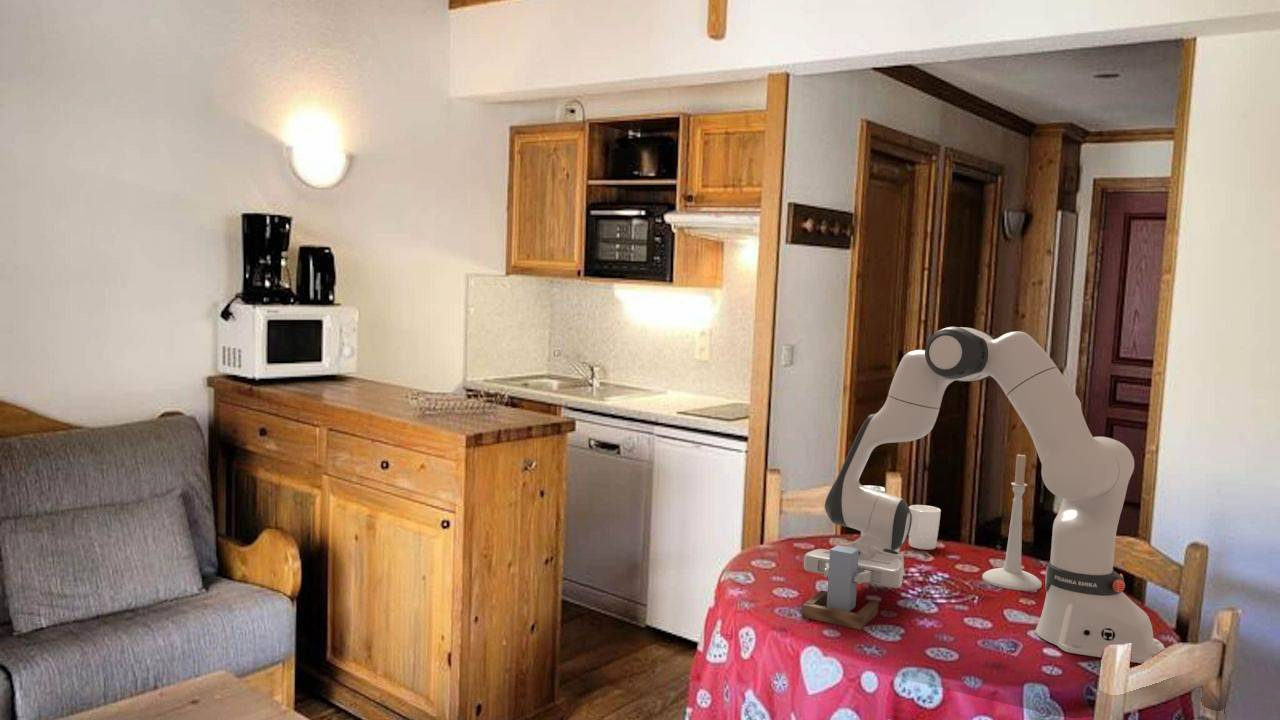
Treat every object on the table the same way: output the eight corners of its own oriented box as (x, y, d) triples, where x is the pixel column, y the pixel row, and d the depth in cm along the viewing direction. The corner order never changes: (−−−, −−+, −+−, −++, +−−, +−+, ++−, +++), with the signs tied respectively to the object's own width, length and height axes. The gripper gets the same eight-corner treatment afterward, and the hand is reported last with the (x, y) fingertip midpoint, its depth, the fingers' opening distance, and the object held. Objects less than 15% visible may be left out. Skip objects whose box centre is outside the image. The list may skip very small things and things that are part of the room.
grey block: (855, 606, 199) (859, 548, 198) (848, 612, 195) (851, 553, 194) (833, 602, 201) (837, 544, 200) (826, 608, 198) (830, 549, 197)
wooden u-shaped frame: (877, 613, 200) (878, 601, 200) (860, 629, 190) (861, 617, 190) (821, 601, 206) (821, 590, 206) (802, 616, 196) (802, 604, 196)
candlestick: (980, 570, 234) (989, 446, 232) (1038, 577, 231) (1047, 451, 229) (984, 586, 222) (993, 455, 220) (1044, 593, 219) (1055, 460, 216)
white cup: (900, 545, 255) (903, 507, 254) (917, 540, 260) (919, 503, 259) (927, 552, 249) (930, 513, 248) (944, 547, 254) (946, 509, 254)
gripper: (817, 538, 214) (793, 552, 202) (911, 555, 204) (892, 570, 192) (815, 566, 214) (791, 582, 202) (909, 584, 204) (890, 602, 192)
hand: (841, 576), depth 197 cm, fingers closed on grey block, 4 cm apart
